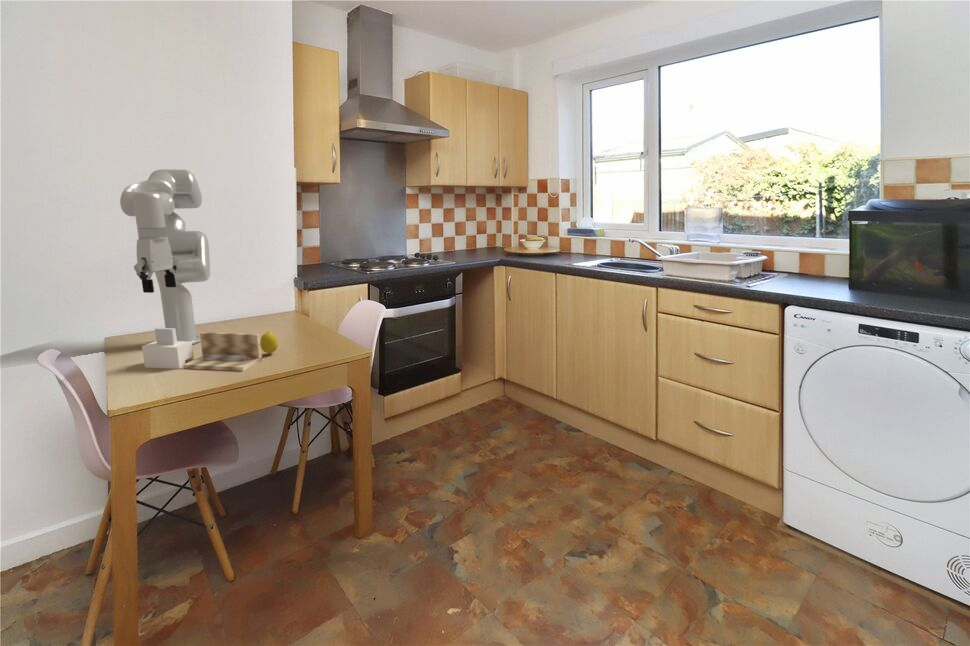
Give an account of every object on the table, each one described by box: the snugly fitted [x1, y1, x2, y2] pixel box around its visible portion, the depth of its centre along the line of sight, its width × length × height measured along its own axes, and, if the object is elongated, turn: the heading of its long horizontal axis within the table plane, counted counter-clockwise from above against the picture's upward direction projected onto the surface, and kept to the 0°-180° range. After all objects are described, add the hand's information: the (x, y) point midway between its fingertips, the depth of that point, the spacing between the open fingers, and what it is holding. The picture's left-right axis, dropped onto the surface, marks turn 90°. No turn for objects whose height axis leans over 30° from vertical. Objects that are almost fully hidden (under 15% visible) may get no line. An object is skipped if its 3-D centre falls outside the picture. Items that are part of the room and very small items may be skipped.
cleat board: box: [183, 331, 263, 372], centre depth 174 cm, size 20×11×9 cm, turn 82°
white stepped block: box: [141, 327, 195, 370], centre depth 173 cm, size 12×7×12 cm, turn 82°
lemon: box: [260, 331, 279, 355], centre depth 185 cm, size 6×6×8 cm
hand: (160, 289), depth 169 cm, fingers open, 9 cm apart
